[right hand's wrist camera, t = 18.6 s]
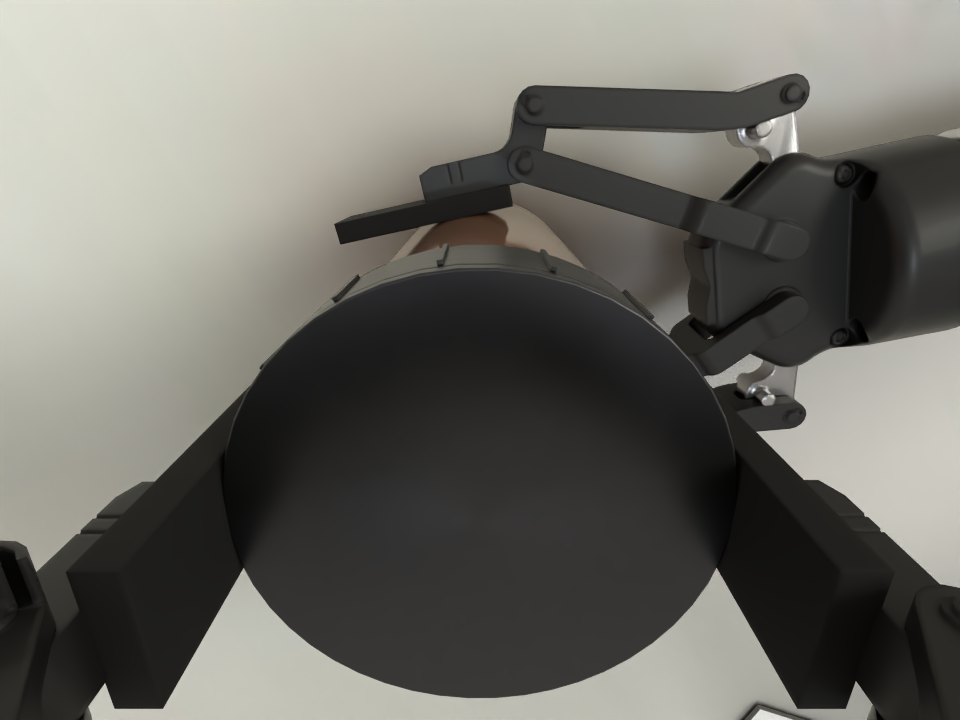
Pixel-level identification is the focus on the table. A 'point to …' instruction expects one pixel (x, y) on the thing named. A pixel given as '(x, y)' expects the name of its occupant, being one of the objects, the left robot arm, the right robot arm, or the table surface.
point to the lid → (480, 475)
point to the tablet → (769, 714)
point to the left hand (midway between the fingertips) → (381, 346)
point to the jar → (490, 234)
